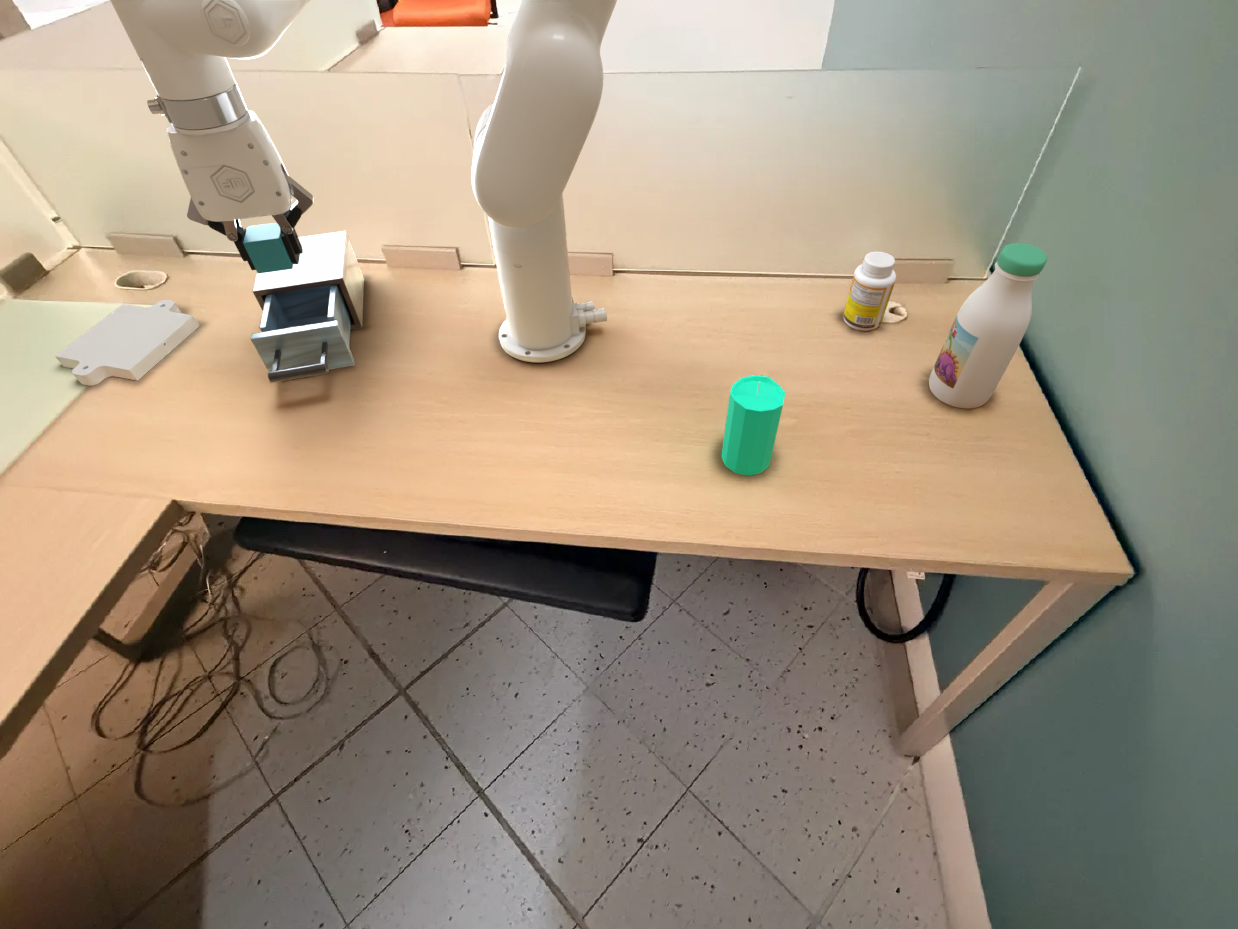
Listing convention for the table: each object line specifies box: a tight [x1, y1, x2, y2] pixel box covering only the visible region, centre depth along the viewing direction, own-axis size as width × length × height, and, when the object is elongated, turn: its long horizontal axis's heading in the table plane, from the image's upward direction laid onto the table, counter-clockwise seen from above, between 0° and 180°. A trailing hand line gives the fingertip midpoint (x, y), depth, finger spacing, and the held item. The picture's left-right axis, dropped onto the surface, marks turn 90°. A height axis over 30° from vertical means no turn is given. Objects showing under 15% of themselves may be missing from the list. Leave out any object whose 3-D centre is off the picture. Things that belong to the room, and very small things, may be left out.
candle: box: [720, 374, 786, 477], centre depth 74 cm, size 6×6×12 cm
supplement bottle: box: [842, 251, 897, 332], centre depth 92 cm, size 6×6×10 cm
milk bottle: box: [928, 242, 1048, 409], centre depth 78 cm, size 8×8×20 cm
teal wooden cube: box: [243, 222, 293, 274], centre depth 81 cm, size 4×4×4 cm
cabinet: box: [252, 230, 365, 331], centre depth 98 cm, size 14×12×9 cm
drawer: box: [250, 284, 356, 383], centre depth 89 cm, size 18×11×7 cm, turn 14°
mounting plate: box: [54, 299, 201, 387], centre depth 96 cm, size 18×13×2 cm
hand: (276, 260), depth 83 cm, fingers closed on teal wooden cube, 4 cm apart
